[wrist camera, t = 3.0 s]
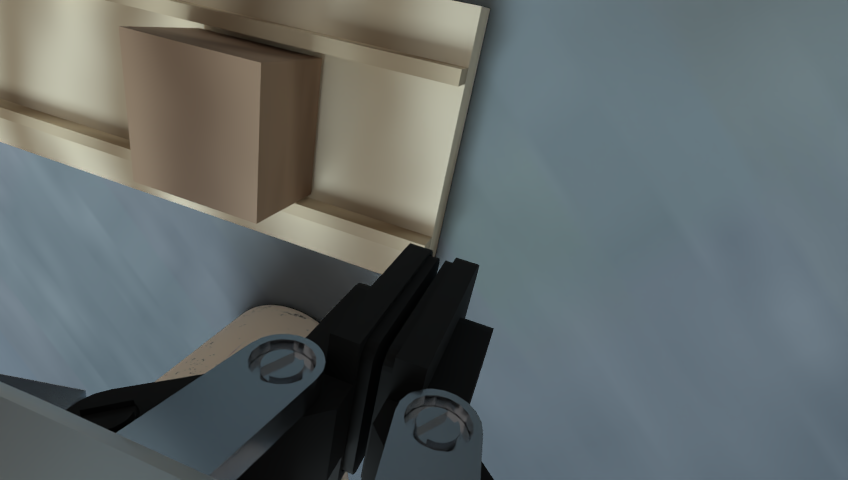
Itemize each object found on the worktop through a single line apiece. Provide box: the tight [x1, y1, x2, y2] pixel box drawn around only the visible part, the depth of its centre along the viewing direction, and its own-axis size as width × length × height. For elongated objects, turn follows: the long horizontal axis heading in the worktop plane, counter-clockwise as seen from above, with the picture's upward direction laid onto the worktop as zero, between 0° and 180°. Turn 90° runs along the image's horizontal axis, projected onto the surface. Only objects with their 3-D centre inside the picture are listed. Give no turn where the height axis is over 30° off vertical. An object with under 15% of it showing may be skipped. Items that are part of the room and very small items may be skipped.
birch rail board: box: [0, 0, 490, 274], centre depth 23 cm, size 32×12×2 cm, turn 79°
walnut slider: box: [119, 26, 322, 224], centre depth 19 cm, size 6×6×4 cm
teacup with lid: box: [155, 305, 349, 480], centre depth 24 cm, size 12×9×12 cm
